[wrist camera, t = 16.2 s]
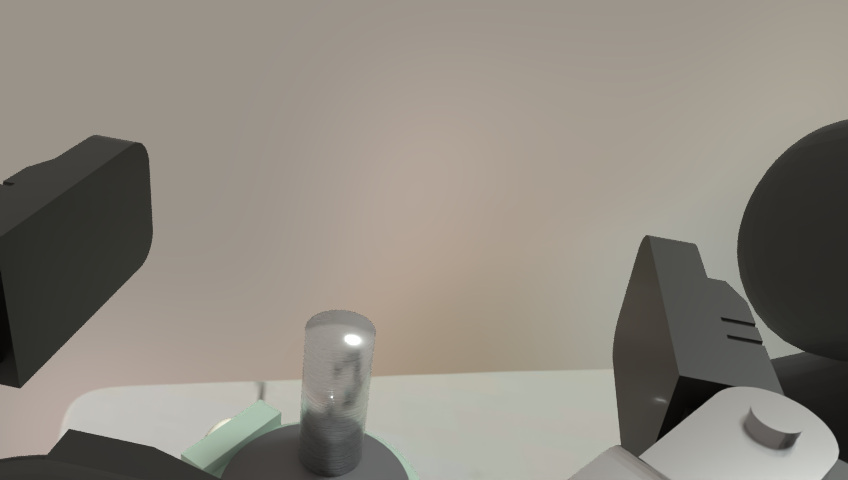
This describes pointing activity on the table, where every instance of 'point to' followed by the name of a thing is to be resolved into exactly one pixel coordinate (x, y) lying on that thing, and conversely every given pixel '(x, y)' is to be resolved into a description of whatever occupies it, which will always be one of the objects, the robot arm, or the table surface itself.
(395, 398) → the table surface
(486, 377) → the table surface
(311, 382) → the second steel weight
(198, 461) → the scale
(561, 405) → the table surface
